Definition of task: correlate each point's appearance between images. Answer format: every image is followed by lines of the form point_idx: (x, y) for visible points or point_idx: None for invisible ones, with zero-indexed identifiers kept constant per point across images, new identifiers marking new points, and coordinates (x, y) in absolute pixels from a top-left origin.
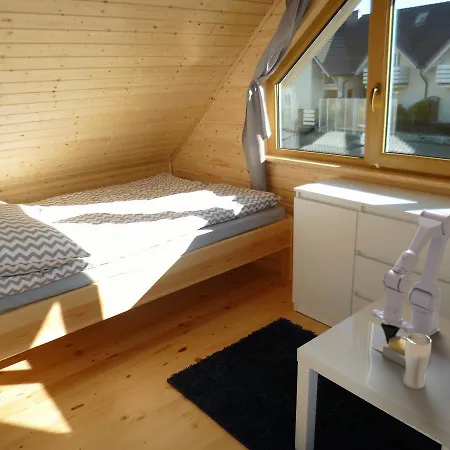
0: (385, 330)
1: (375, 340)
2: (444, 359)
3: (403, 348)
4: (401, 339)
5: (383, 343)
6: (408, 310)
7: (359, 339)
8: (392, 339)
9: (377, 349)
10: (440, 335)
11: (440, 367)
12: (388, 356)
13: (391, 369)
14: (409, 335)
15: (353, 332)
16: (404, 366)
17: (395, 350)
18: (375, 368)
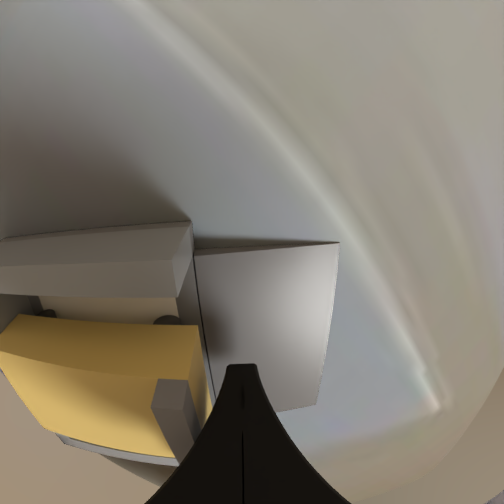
0: (274, 491)
1: (369, 338)
2: None
3: (38, 368)
4: (165, 450)
5: (305, 355)
6: (354, 496)
7: (452, 254)
8: (157, 419)
9: (278, 253)
10: None
11: None
12: (118, 233)
13: (27, 135)
14: None
15: (494, 283)
16: (10, 240)
17: (115, 331)
18: (96, 25)
